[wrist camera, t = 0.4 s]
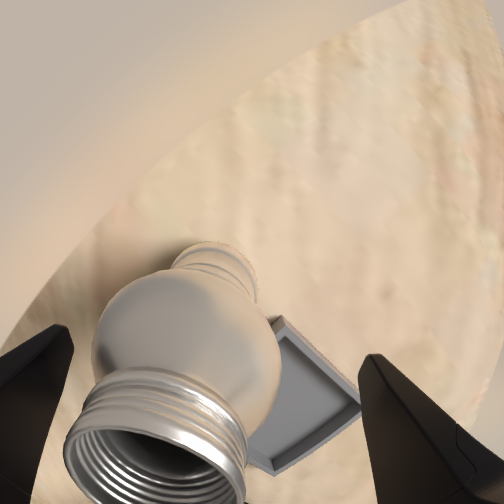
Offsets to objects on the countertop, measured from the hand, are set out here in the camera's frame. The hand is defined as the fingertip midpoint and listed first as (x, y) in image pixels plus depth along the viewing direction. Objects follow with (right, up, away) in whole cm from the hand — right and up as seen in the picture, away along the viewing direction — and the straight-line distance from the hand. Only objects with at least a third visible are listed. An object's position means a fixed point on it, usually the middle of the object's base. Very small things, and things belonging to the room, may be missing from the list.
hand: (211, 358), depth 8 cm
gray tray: (+3, -11, +17) cm, 21 cm away
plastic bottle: (-2, +1, +16) cm, 16 cm away
